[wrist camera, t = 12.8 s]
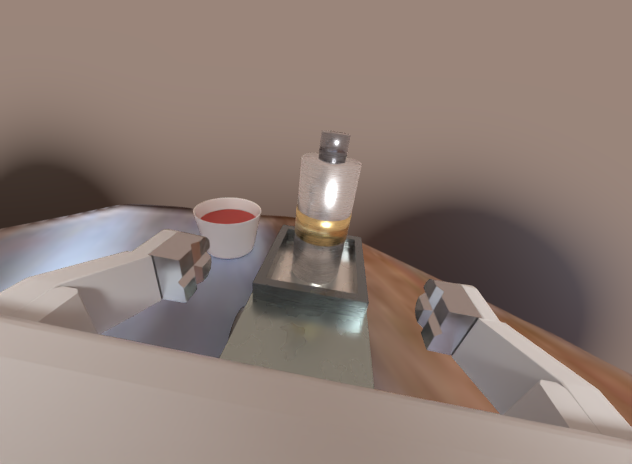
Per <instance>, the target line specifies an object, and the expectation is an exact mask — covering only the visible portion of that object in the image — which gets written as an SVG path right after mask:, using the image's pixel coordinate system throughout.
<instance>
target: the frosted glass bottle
mask: <svg viewBox="0 0 632 464" xmlns="http://www.w3.org/2000/svg"><path fill="white" fill-rule="evenodd" d="M349 140H350V135H349V134H346V133H341V132H335V131H322V133H321V141H320V149H319V153H307V154H304V155H303V156H302V163H301V173H300V183H299V194H298V204H297V209H296V220H295V237H294V247H293V258H292V271H293V273H294V275H295V276H296V277H297V278H299V279H300V280H302V281H304V282H307V283H310V284H326V283H329V282H331V281H333V280H334V279H335V278H336V277H337V275H338V271H339V267H340V262H341V258H342V253H343V248H344V244H345V240H346V237H347V233H348V228H349V224H350V219H351V212H352V207H353V203H354V198H355V193H356V189H357V184H358V179H359V174H360V170H361V166H362V164H361V163H360V162H359V161H357V160H354V159H351V158H348V157H347V151H348V145H349Z"/></svg>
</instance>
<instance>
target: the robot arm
mask: <svg viewBox="0 0 632 464" xmlns="http://www.w3.org/2000/svg"><path fill="white" fill-rule="evenodd" d="M209 248H210V242H209V239H208V238H207V237H204V236H199V235H195V234H190V233H185V232H179V231H175V230H170V229H165V230H162V231H161V232H159V233H158V234H156V235H155V236H154V237H152V238H151V239H149V240H148V241H146V242H145V243H143V244H142V245H140V246H139V247H138V248H136V249H135V250H133V251H132V252H129V251H125V252H121V253H118V254H114V255H110V256H106V257H103V258H99V259H95V260H91V261H88V262H84V263H80V264H76V265H73V266H69V267H65V268H61V269H58V270H54V271H50V272H46V273H43V274H39V275H35V276H31V277H28V278H26V279H24V280H22V281H20V282H18V283H16V284H15V285H13V286H11V287H9V288H7V289H5V290H4V291H2V292H0V464H632V427H631V426H630V425H629V424H628V423H627V422H626V421H625V419H624V418H623V417H622V416H621V415H620V414H619V413H618V411H617V410H616V409H615V408H614V407H613V406H612V405H611V403H610V402H609V401H608V400H607V399H606V398H605V397H604V395H603V394H602V393H601V392H600V391H599V390H598V389H597V388H595V387H594V386H592V385H591V384H590V383H588V382H587V381H585V380H584V379H583V378H581V377H580V376H578V375H577V374H576V373H574V372H573V371H571V370H570V369H569V368H567V367H566V366H564V365H563V364H562V363H560V362H559V361H557V360H556V359H555V358H553V357H552V356H550V355H549V354H548V353H546V352H545V351H543V350H542V349H541V348H539V347H538V346H536V345H535V344H534V343H532V342H531V341H529V340H528V339H527V338H525V337H524V336H522V335H521V334H520V333H518V332H517V331H515V330H514V329H513V328H511V327H510V326H508V325H507V324H506V323H502V322H500V321H499V320H498V318H497V317H496V315H495V314H494V313H493V311H492V310H491V308H490V307H489V306H488V304H487V303H486V301H485V300H484V299H483V297H482V296H481V294H480V293H479V292H478V290H477V289H476V288H475V287H473V286H469V285H462V284H454V283H449V282H443V281H437V280H432V279H429V280H428V281H427V282H426V284H425V286H424V290H425V293H424V294H423V295H421V296H419V298H418V300H417V302H416V308H415V314H416V319H417V322H418V323H419V324H420V325H421V326H422V327H423V330H422V332H421V334H422V337H423V340H424V343H425V346H426V349H427V350H430V351H434V352H439V353H443V354H448V355H452V358H453V359H454V360H455V361H456V362H457V363H458V365H459V366H460V367H461V368H462V369H463V370H464V372H465V373H466V374H467V375H468V376H469V378H470V379H471V380H472V381H473V382H474V383H475V385H476V386H477V387H478V388H479V389H480V390H481V392H482V393H483V394H484V395H485V396H486V398H487V399H488V400H489V401H490V402H491V403H492V405H493V406H494V407H495V408H496V409H497V410H498V412H499V413H500V414H496V413H491V412H486V411H481V410H476V409H471V408H466V407H461V406H456V405H451V404H446V403H441V402H436V401H431V400H426V399H421V398H416V397H411V396H406V395H401V394H396V393H391V392H386V391H381V390H376V389H371V388H366V387H361V386H355V385H350V384H345V383H340V382H335V381H330V380H325V379H320V378H315V377H310V376H305V375H300V374H295V373H290V372H285V371H280V370H275V369H270V368H265V367H260V366H255V365H250V364H245V363H240V362H235V361H230V360H225V359H220V358H215V357H210V356H205V355H200V354H195V353H190V352H185V351H180V350H175V349H170V348H165V347H160V346H155V345H150V344H145V343H140V342H135V341H130V340H125V339H120V338H115V337H110V336H105V335H100V334H101V333H103V332H105V331H107V330H109V329H110V328H112V327H114V326H116V325H118V324H120V323H121V322H123V321H125V320H127V319H129V318H130V317H132V316H134V315H136V314H138V313H139V312H141V311H143V310H145V309H147V308H148V307H150V306H152V305H154V304H156V303H158V302H159V301H161V300H162V299H165V300H171V301H177V302H183V303H186V302H187V301H188V300H189V299H190V298H191V296H192V295H193V294H194V293H195V291H196V290H197V286H196V284H198V283H201V282H203V281H204V280H205V279H206V277H207V276H208V274H209V271H210V269H211V256H210V255H209V254H208V253H207V250H208V249H209Z"/></svg>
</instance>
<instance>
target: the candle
mask: <svg viewBox="0 0 632 464" xmlns="http://www.w3.org/2000/svg"><path fill="white" fill-rule="evenodd" d="M193 214H194V217H195V220H196V223H197V226H198V228H199V231H200V234H201V236H204V237H207V238H208V239H209V242H210V248H209V249H208V250H207V252H208V253H209V254H210V255H212V256H214V257H217V258H221V259H234V258H239V257H242V256H244V255H246V254H248V253H249V252H250V251H251V250H252V249H253V247H254V243H255V238H256V234H257V229H258V224H259V220H260V215H261V208H260V207H259V206H258V205H257V204H256V203H254V202H252V201H249V200H246V199H240V198H216V199H211V200H207V201H204V202H202V203H200V204H198V205H197V206H195V208H194V209H193Z"/></svg>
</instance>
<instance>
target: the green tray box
mask: <svg viewBox="0 0 632 464" xmlns="http://www.w3.org/2000/svg"><path fill="white" fill-rule="evenodd" d="M294 237H295V227H294V226H288V225H283V226H282V228H281V230H280V231H279V233H278V235H277V237H276V239H275V241H274V243H273V245H272V247H271V249H270V251H269V252H268V254H267V256H266V258H265V260H264V262H263V264H262V266H261V268H260V270H259V272H258V273H257V275H256V277H255V279H254V281H253V292H252V294H251V296H250V298H249V300H248V302H247V304H246V306H244V307H242V308H241V309H240V311H239V312H238V314H237V316H236V318H235V320H234V323H233V325H232V328H231V331H230V335H229V339H228V342H227V344H226V346H225V348H224V350H223V352H222V354H221V356H220V359H225V360H230V361H235V362H240V363H245V364H250V365H255V366H260V367H265V368H270V369H275V370H280V371H285V372H290V373H295V374H300V375H305V376H310V377H315V378H320V379H325V380H330V381H335V382H340V383H345V384H350V385H355V386H361V387H366V388H371V389H374V382H373V372H372V362H371V352H370V342H369V332H368V322H367V312H366V310H367V306H368V303H369V302H368V293H367V285H366V276H365V267H364V259H363V250H362V242H361V238H360V237H355V236H349V235H347V237H346V240H345V244H344V248H343V253H342V258H341V262H340V267H339V271H338V275H337V277H336V278H335V279H334V280H333V281H331V282H329V283H326V284H310V283H307V282H304V281H302V280H300V279H299V278H297V277H296V276H295V275H294V273H293V271H292V258H293V247H294Z"/></svg>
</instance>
